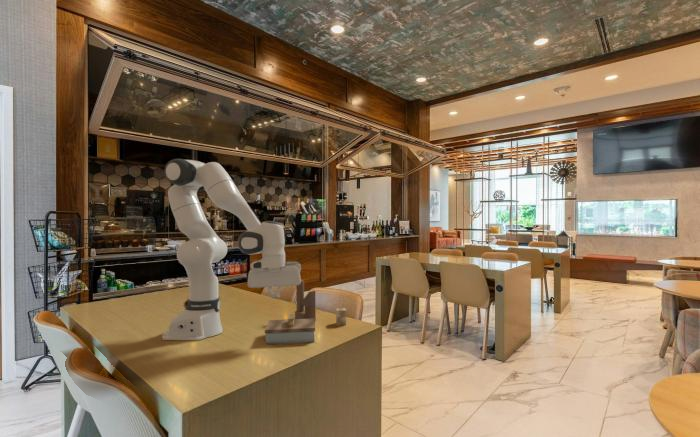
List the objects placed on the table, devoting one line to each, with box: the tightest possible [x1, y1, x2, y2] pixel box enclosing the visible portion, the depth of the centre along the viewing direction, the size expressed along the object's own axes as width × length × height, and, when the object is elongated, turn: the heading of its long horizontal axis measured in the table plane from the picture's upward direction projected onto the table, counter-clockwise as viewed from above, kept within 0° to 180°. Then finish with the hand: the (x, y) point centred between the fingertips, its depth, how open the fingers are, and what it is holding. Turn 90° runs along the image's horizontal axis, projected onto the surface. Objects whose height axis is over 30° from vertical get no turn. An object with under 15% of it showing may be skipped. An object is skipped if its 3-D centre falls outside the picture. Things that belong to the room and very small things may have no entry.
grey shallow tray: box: [265, 331, 315, 345], centre depth 134 cm, size 18×12×4 cm, turn 96°
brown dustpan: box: [294, 279, 317, 322], centre depth 158 cm, size 4×11×18 cm, turn 48°
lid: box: [264, 313, 316, 334], centre depth 134 cm, size 19×13×4 cm
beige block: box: [335, 307, 347, 327], centre depth 152 cm, size 4×4×6 cm
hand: (275, 297), depth 134 cm, fingers closed
